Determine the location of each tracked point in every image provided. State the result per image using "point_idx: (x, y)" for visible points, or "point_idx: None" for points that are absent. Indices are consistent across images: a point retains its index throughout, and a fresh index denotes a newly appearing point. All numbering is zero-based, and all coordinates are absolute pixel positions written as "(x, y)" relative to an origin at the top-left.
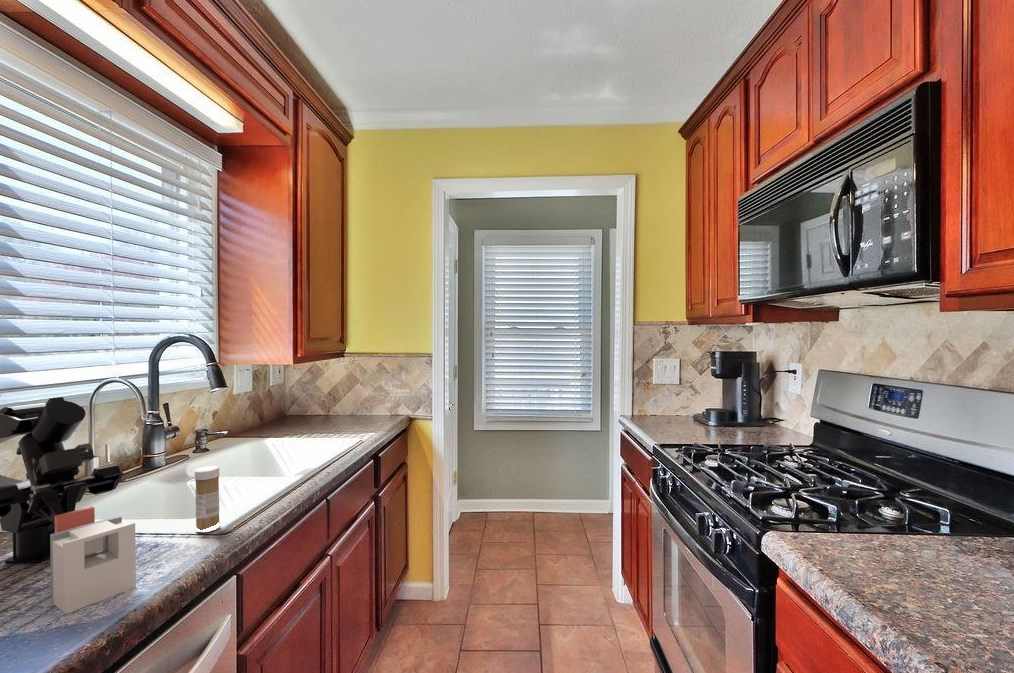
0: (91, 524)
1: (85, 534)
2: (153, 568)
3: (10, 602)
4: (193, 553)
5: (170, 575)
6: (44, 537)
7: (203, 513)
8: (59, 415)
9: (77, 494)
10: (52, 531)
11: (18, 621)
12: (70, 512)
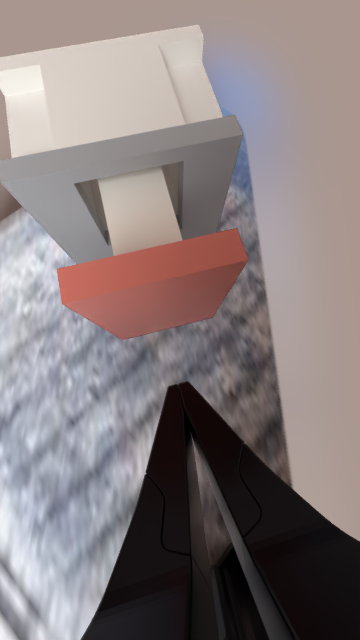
0: (110, 143)
1: (140, 60)
2: (44, 285)
3: (266, 316)
4: None
5: (32, 229)
6: (248, 630)
7: None
8: None
9: (96, 629)
10: None
11: (246, 228)
12: (174, 264)
